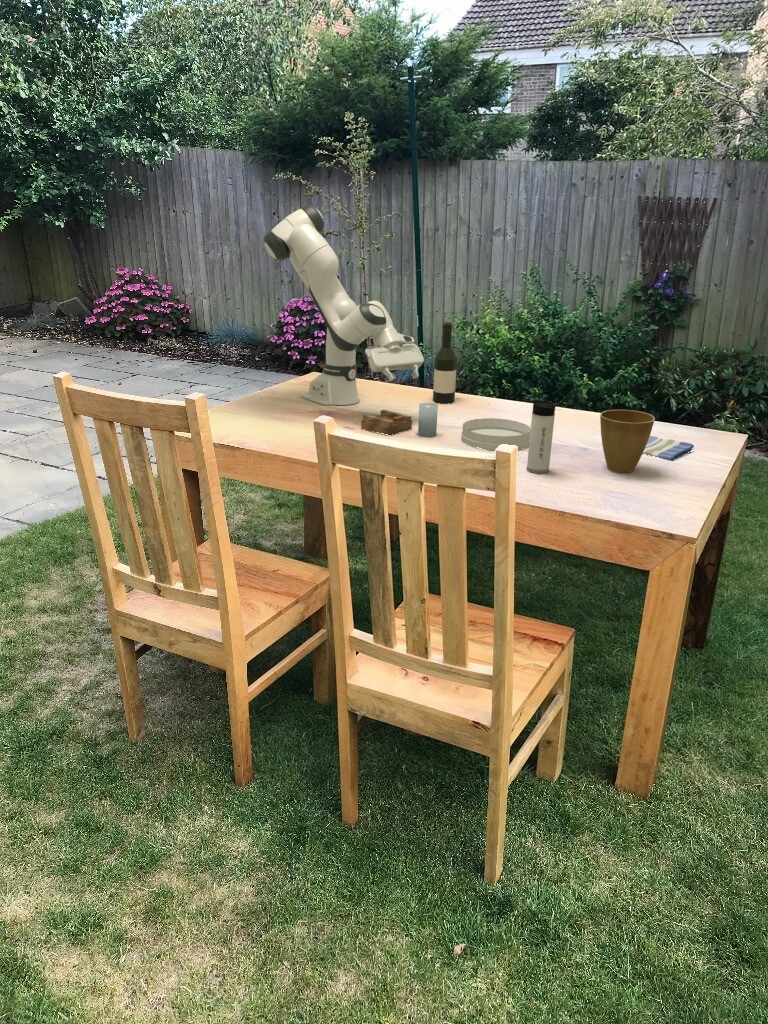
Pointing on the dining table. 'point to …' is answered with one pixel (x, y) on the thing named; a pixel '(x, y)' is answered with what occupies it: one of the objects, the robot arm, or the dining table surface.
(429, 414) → the grey domed cylinder
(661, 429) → the dining table surface
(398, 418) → the chest
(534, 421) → the travel mug
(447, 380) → the wine bottle
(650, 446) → the dish towel
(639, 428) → the plant pot
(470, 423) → the dish
